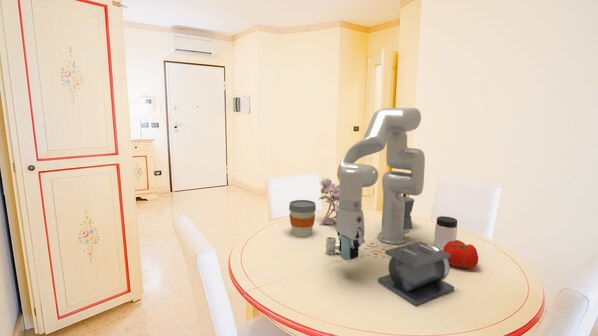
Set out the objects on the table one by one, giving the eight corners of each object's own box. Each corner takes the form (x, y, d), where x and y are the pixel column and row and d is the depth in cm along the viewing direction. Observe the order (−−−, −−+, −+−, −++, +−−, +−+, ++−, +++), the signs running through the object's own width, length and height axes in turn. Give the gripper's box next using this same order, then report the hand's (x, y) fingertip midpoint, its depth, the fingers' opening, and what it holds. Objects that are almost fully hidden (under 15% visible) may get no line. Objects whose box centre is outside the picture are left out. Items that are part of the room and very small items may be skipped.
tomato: (434, 260, 128) (435, 239, 126) (458, 255, 132) (460, 236, 130) (459, 275, 116) (462, 252, 114) (485, 269, 120) (488, 248, 119)
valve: (324, 256, 129) (355, 259, 127) (325, 241, 128) (356, 243, 126) (326, 250, 136) (354, 252, 134) (326, 235, 135) (355, 237, 133)
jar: (438, 239, 148) (440, 214, 147) (457, 244, 143) (459, 218, 141) (431, 245, 142) (434, 219, 140) (451, 250, 137) (454, 223, 135)
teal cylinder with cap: (349, 251, 116) (350, 228, 114) (359, 257, 112) (360, 233, 110) (338, 255, 113) (338, 231, 112) (347, 261, 109) (347, 236, 107)
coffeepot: (412, 232, 157) (415, 196, 154) (392, 230, 160) (394, 195, 157) (411, 222, 172) (414, 189, 169) (393, 221, 174) (395, 188, 171)
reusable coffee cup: (319, 232, 155) (320, 202, 153) (306, 240, 145) (307, 208, 142) (298, 227, 162) (298, 198, 159) (283, 235, 151) (283, 204, 149)
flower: (335, 234, 149) (356, 184, 151) (302, 217, 165) (321, 173, 167) (357, 241, 163) (375, 196, 165) (324, 225, 179) (342, 184, 181)
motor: (414, 270, 119) (417, 236, 117) (453, 290, 105) (457, 253, 103) (377, 282, 110) (380, 245, 108) (415, 306, 96) (419, 265, 94)
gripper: (376, 209, 104) (373, 261, 107) (343, 196, 118) (342, 243, 121) (357, 213, 100) (356, 267, 103) (326, 199, 114) (325, 247, 118)
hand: (348, 253), depth 112 cm, fingers closed on teal cylinder with cap, 5 cm apart
